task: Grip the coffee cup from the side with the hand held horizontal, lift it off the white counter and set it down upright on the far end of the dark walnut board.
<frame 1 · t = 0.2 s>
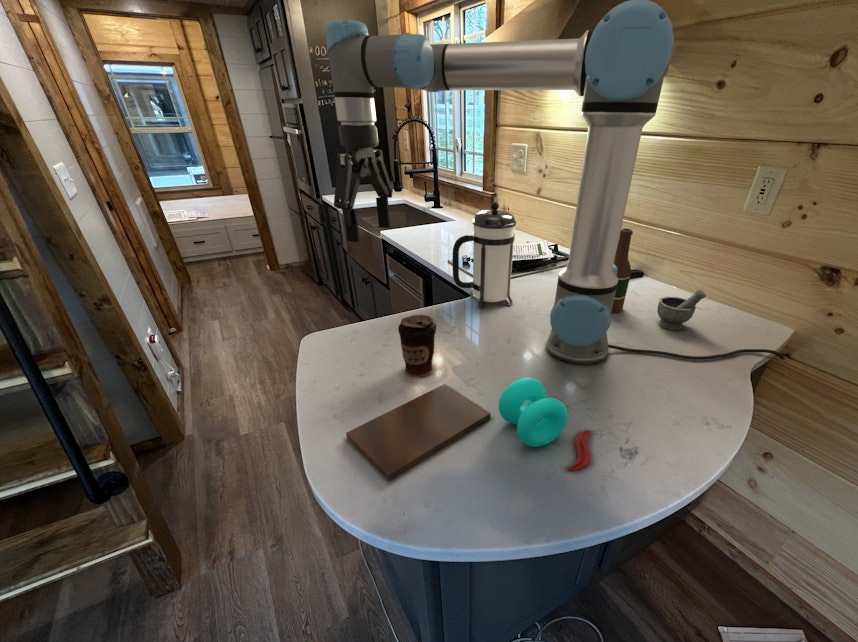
hand: (370, 234, 92), 28 cm above the worktop, tool pointing down, fingers open, 13 cm apart
beer bottle: (609, 308, 128), on the worktop
coffee cup: (419, 371, 95), on the worktop
mortar and pestle: (672, 326, 117), on the worktop
cayenne pepper: (581, 452, 73), on the worktop
coffee press: (487, 301, 131), on the worktop
donuts: (529, 432, 77), on the worktop
walnut board: (421, 428, 78), on the worktop
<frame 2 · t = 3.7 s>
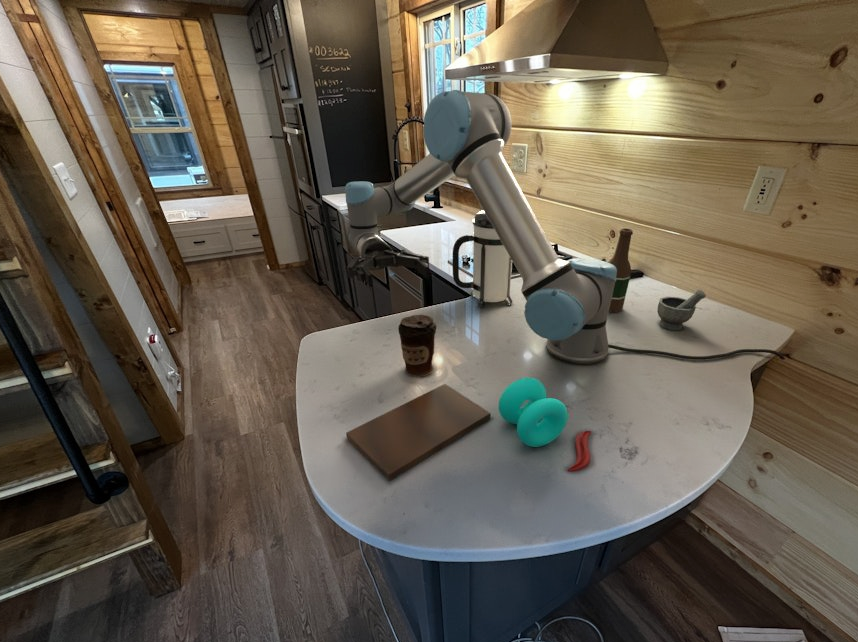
hand: (400, 277, 92), 20 cm above the worktop, tool horizontal, fingers open, 13 cm apart
nothing on the worktop moved.
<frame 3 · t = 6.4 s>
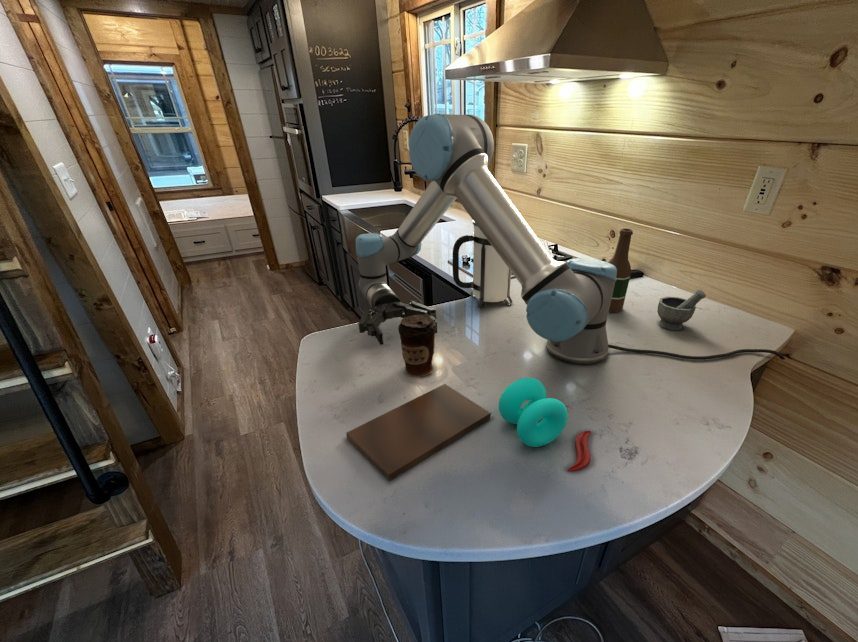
hand: (409, 333, 96), 7 cm above the worktop, tool horizontal, fingers open, 13 cm apart
nothing on the worktop moved.
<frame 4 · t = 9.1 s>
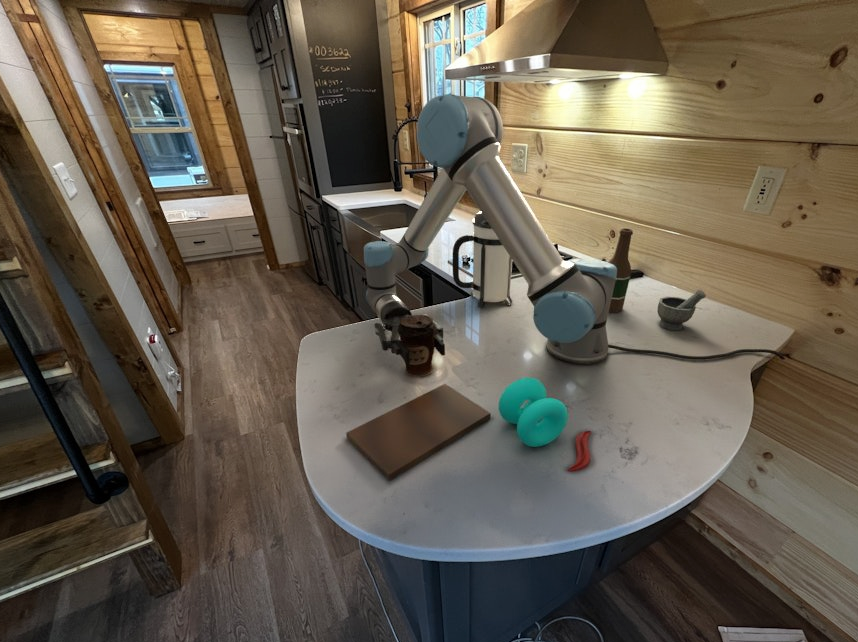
hand: (425, 354, 88), 7 cm above the worktop, tool horizontal, fingers closed on coffee cup, 8 cm apart
coffee cup: (419, 371, 96), on the worktop, touching gripper
everything else where it was.
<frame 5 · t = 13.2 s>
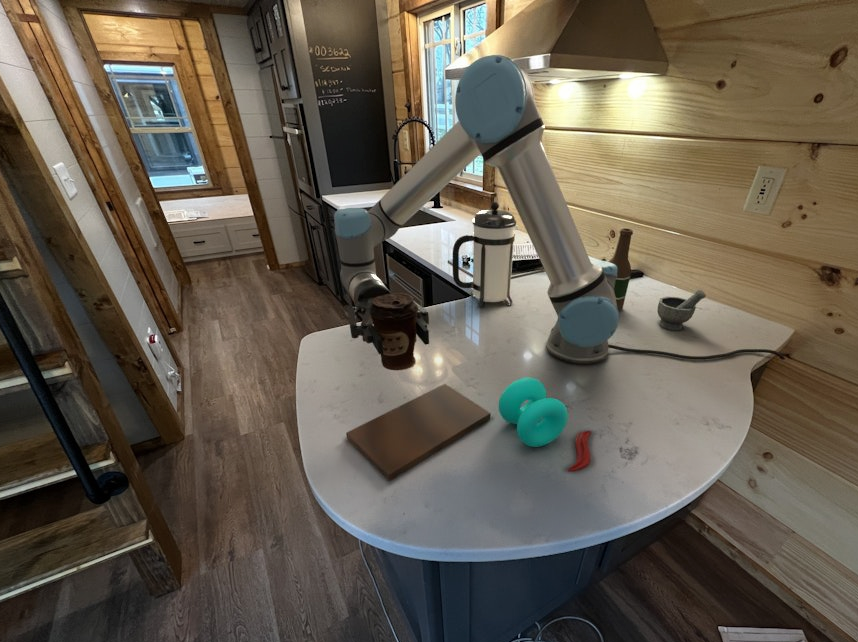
hand: (404, 342, 69), 18 cm above the worktop, tool horizontal, fingers closed on coffee cup, 8 cm apart
coffee cup: (399, 364, 77), point 11 cm above the worktop, touching gripper
everything else where it was.
when the fingers open (8 cm above the worktop, at t = 17.7 s): coffee cup stays where it is, resting on walnut board.
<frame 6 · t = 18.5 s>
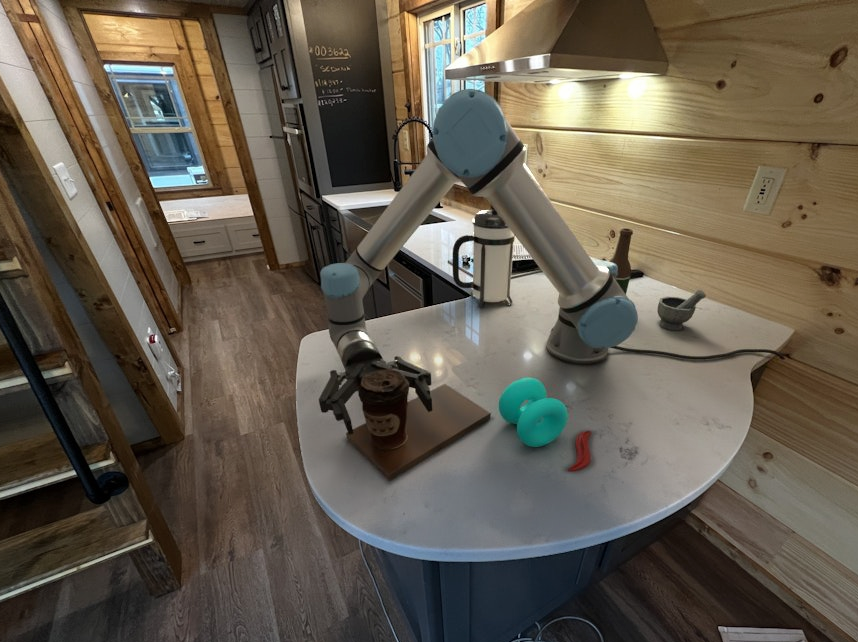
hand: (391, 416, 66), 9 cm above the worktop, tool horizontal, fingers open, 13 cm apart
coffee cup: (389, 440, 73), point 1 cm above the worktop, touching walnut board
everything else where it was.
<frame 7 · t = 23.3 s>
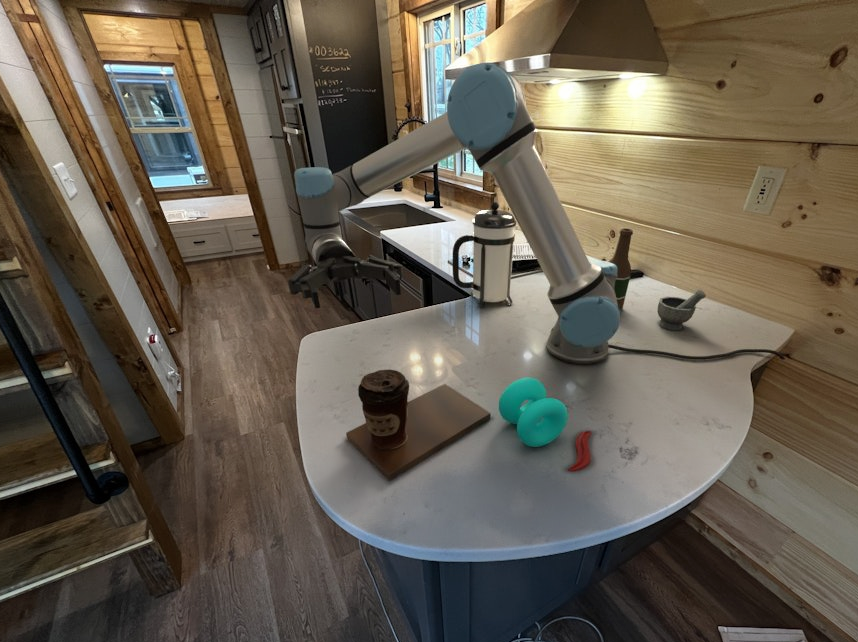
hand: (358, 293, 67), 26 cm above the worktop, tool horizontal, fingers open, 13 cm apart
nothing on the worktop moved.
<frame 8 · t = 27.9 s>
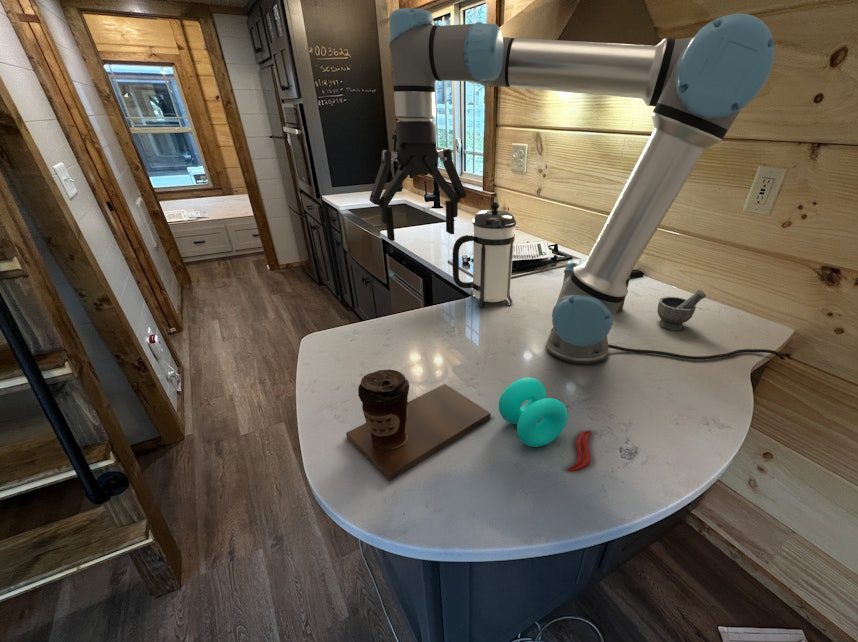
hand: (421, 236, 87), 29 cm above the worktop, tool pointing down, fingers open, 13 cm apart
nothing on the worktop moved.
at the end: coffee cup inside the target area on the walnut board (0.8 cm from its centre), point 1.3 cm above the walnut board's base; coffee cup tilted 0°; the gripper is holding nothing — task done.
